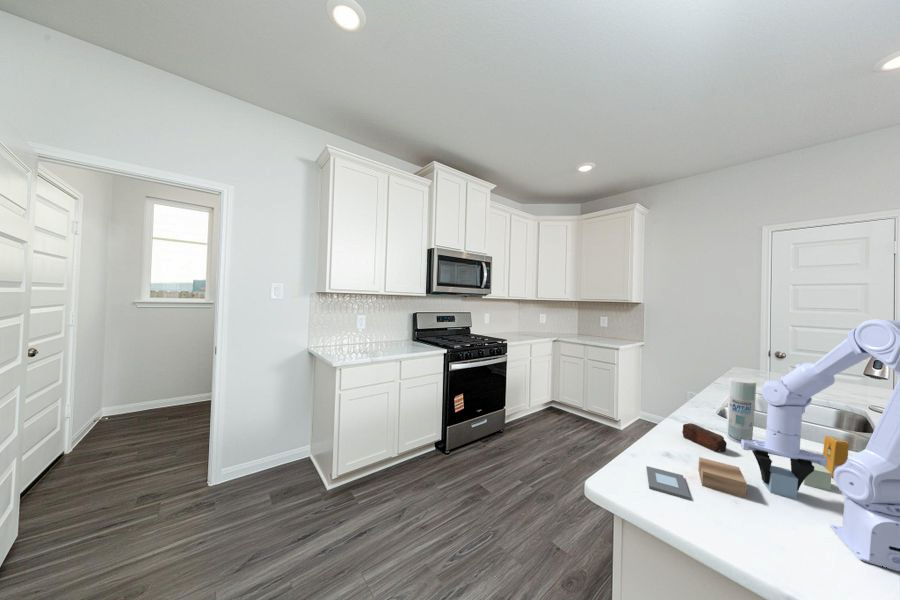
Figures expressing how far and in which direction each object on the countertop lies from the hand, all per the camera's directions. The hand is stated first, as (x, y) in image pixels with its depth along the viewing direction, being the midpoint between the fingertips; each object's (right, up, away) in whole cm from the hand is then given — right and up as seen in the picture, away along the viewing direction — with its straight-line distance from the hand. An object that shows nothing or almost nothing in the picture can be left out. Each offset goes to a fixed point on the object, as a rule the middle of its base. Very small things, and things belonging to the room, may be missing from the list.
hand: (779, 485), depth 76 cm
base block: (-12, -1, +2) cm, 13 cm away
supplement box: (+22, -2, +7) cm, 23 cm away
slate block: (0, -2, 0) cm, 2 cm away
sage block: (+12, -2, +4) cm, 13 cm away
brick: (0, -1, +23) cm, 23 cm away
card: (-26, -1, +2) cm, 26 cm away
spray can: (+15, -1, +26) cm, 30 cm away
